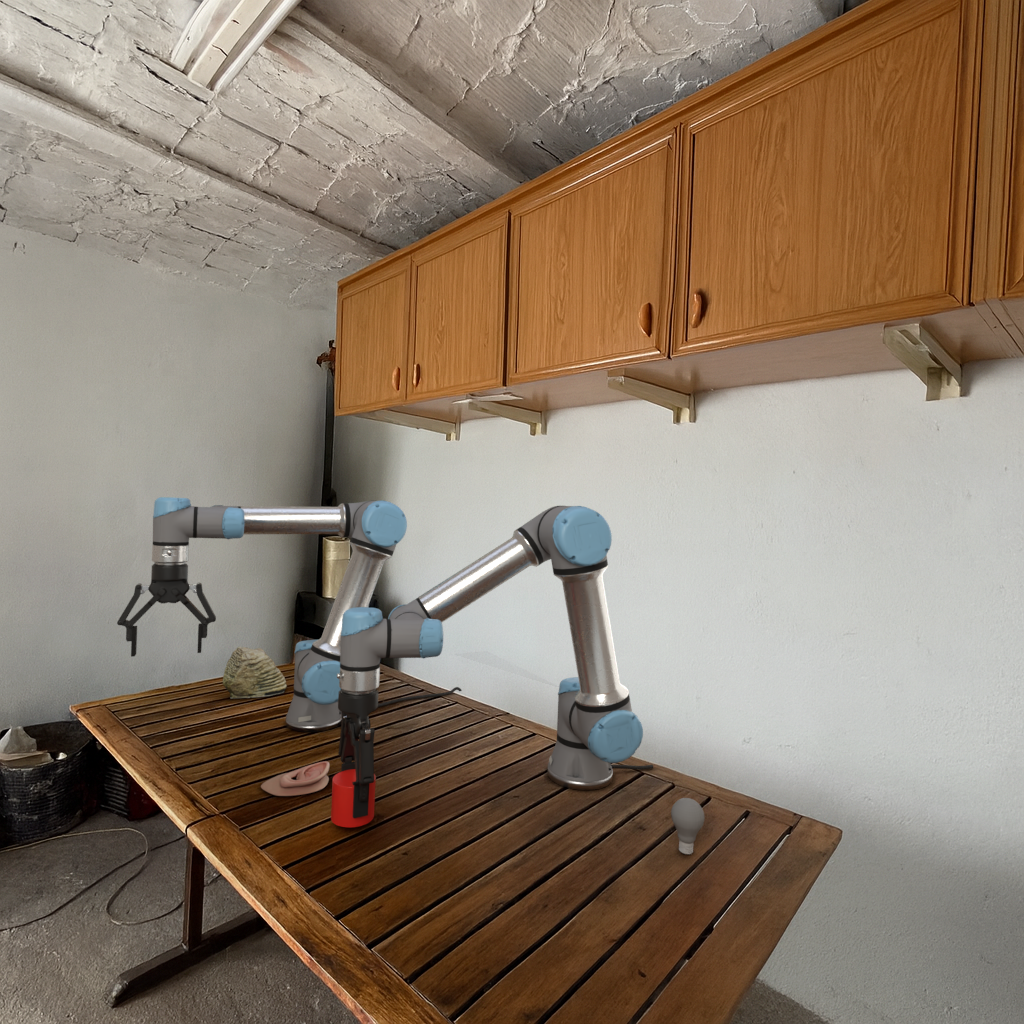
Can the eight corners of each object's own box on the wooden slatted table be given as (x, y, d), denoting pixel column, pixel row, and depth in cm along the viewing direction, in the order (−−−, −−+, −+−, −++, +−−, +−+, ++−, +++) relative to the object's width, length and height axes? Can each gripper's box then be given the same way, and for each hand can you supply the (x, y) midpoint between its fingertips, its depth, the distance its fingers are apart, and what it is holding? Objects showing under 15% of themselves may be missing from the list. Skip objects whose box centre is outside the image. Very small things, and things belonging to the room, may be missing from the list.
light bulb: (664, 843, 121) (667, 792, 121) (695, 843, 121) (698, 792, 121) (675, 861, 115) (678, 807, 115) (707, 861, 115) (710, 807, 115)
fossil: (218, 695, 195) (220, 647, 195) (278, 685, 208) (279, 640, 207) (228, 703, 189) (230, 653, 188) (289, 692, 201) (290, 645, 201)
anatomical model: (253, 773, 134) (283, 753, 145) (252, 792, 134) (282, 770, 145) (310, 782, 131) (336, 760, 142) (309, 801, 131) (335, 777, 143)
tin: (321, 821, 120) (323, 781, 120) (348, 803, 128) (350, 765, 128) (357, 831, 117) (358, 791, 117) (382, 812, 125) (384, 774, 124)
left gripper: (104, 565, 140) (101, 660, 140) (228, 564, 150) (225, 653, 150) (110, 561, 146) (107, 652, 147) (228, 561, 157) (225, 646, 157)
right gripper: (325, 676, 129) (321, 786, 130) (354, 707, 111) (349, 836, 111) (362, 672, 133) (357, 780, 133) (395, 702, 115) (390, 826, 115)
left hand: (167, 653), depth 149 cm, fingers open, 13 cm apart
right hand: (353, 805), depth 122 cm, fingers closed on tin, 8 cm apart
